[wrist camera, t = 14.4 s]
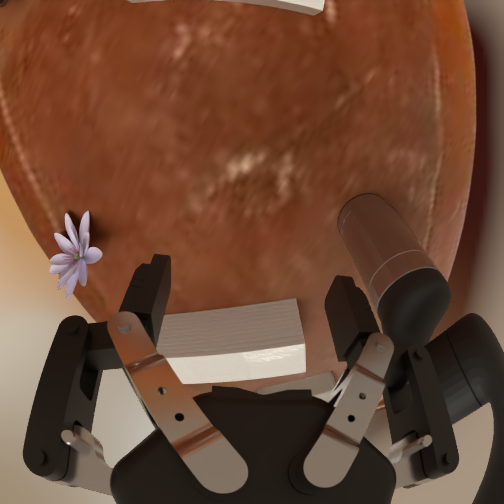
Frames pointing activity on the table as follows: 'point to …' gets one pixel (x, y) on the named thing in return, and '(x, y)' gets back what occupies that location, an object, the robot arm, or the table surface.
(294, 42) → the table surface
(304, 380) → the box
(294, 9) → the low pen
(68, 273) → the water lily
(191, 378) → the stack of papers
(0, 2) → the photo frame
